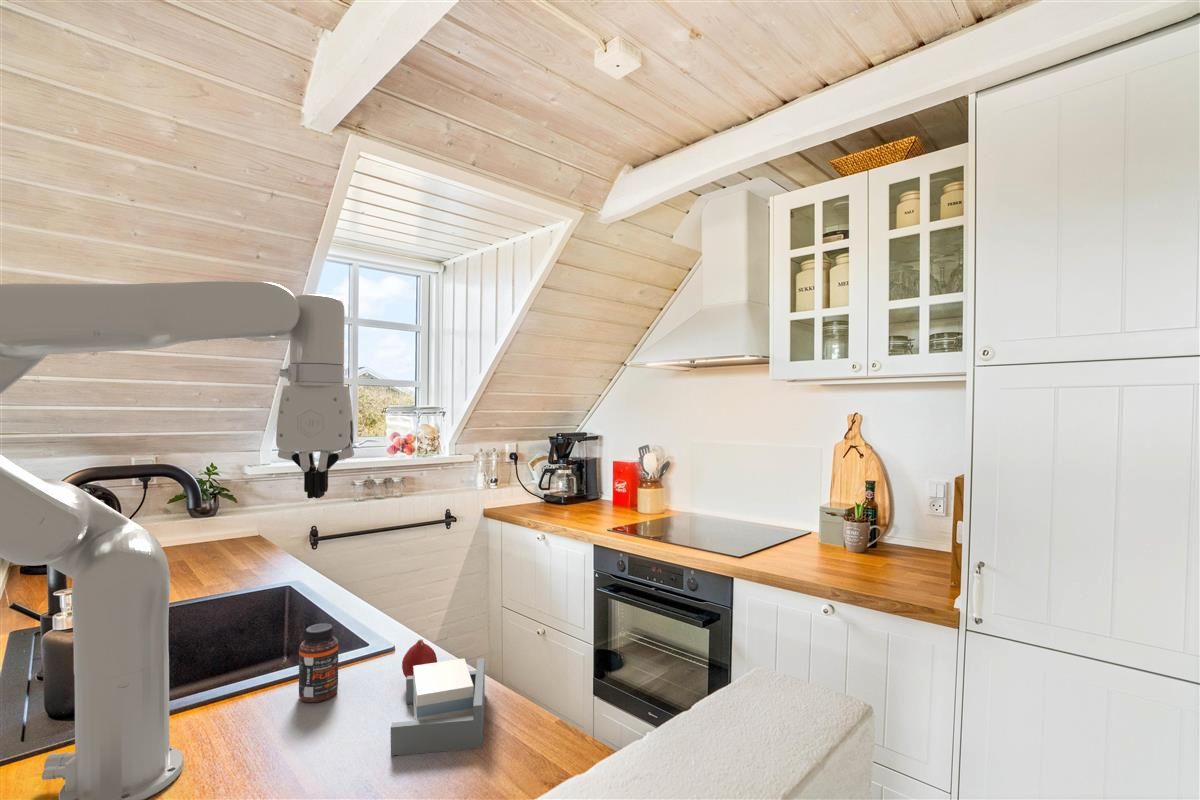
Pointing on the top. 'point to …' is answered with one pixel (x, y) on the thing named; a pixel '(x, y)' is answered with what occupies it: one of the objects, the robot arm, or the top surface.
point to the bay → (442, 725)
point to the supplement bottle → (318, 664)
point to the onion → (417, 657)
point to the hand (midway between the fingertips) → (316, 496)
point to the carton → (442, 690)
